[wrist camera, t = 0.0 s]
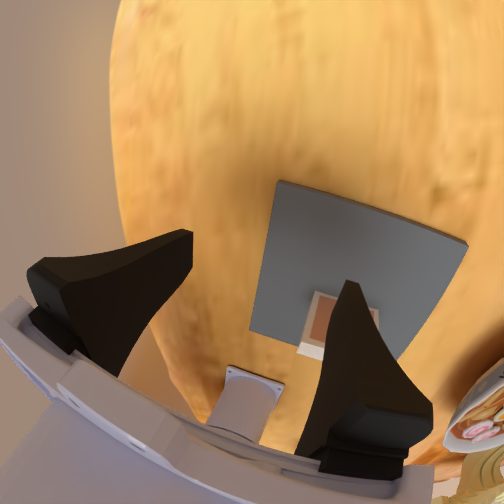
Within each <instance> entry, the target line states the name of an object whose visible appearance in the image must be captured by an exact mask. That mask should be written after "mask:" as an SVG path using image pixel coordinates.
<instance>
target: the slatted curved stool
mask: <svg viewBox="0 0 504 504" xmlns="http://www.w3.org/2000/svg"><path fill="white" fill-rule="evenodd" d="M503 458H504V444H503V445H500V446H498V447H495V448H492V449H489V450H484V451H478V452H473V453H469V454H468V455H467V456H466V457H465V458H464V461H463V464H462V471H461V478H460V482H459V486H458V488H457V493H456V494H455V495H453V496H452V497H449V498H448V497H446V496H440V497H437V498H434V499H431V504H490V503H492V502H499V503H504V479H503V476H502V475H501V472H500V464H501V462H502V460H503Z"/></svg>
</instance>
